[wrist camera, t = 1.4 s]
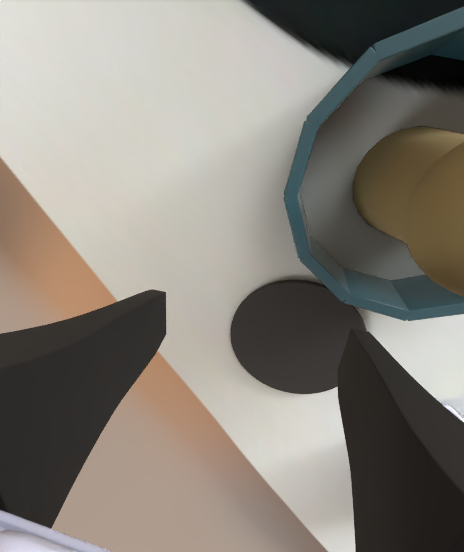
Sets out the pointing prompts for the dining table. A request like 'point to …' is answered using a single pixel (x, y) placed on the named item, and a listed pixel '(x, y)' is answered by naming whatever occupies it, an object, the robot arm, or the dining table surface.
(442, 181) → the tan game pawn
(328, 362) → the black mat
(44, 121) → the dining table surface
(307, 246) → the teal hollow ring
